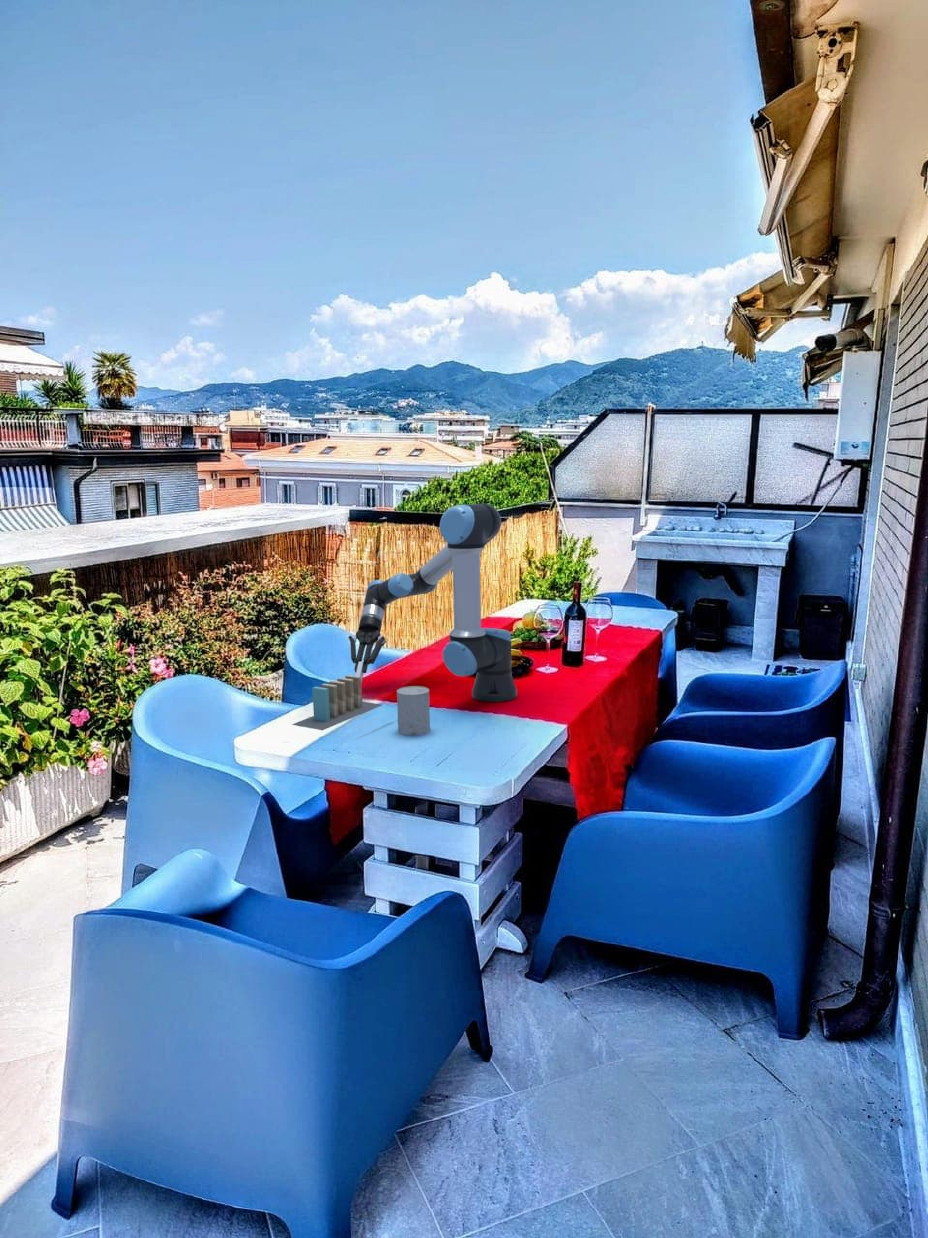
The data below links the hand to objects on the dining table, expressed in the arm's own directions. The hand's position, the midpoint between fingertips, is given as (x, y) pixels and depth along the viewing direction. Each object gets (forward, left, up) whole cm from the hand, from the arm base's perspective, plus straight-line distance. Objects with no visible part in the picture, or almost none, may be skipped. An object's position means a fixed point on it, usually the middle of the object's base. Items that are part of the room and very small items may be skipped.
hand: (358, 680), depth 278 cm
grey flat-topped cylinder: (-34, +2, -8) cm, 35 cm away
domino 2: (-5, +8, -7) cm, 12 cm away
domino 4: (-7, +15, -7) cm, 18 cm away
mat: (-7, +12, -8) cm, 16 cm away
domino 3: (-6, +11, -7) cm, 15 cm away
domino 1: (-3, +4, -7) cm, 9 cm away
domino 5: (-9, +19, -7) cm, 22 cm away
